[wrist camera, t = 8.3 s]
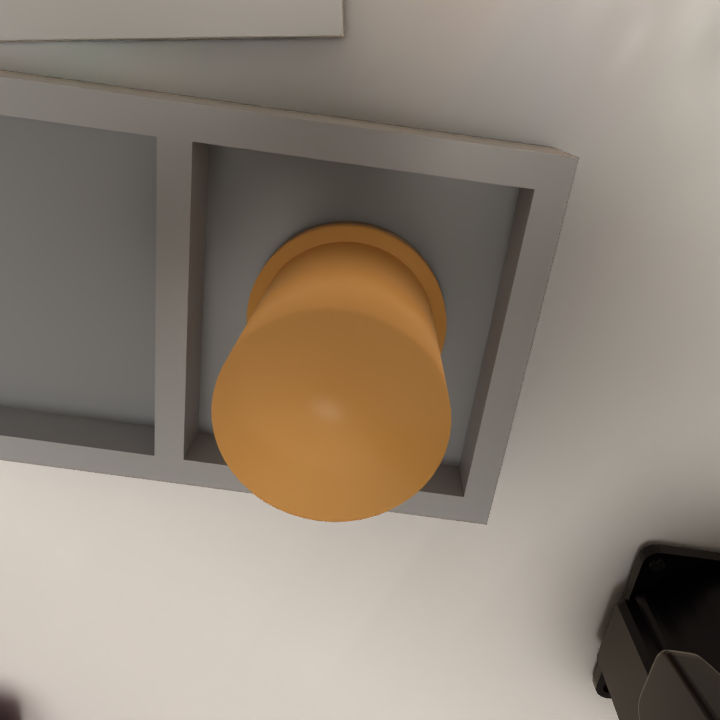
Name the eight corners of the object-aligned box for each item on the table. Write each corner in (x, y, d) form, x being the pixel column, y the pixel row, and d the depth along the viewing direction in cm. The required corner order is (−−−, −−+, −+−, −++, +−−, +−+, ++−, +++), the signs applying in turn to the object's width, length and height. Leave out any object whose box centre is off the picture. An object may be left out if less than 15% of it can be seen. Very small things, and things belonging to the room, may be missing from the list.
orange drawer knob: (460, 235, 17) (497, 311, 11) (426, 413, 19) (443, 551, 13) (258, 207, 17) (197, 270, 11) (246, 389, 19) (188, 518, 13)
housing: (553, 147, 17) (578, 158, 15) (476, 475, 21) (486, 524, 18) (-149, 48, 17) (-235, 43, 14) (-94, 399, 21) (-154, 439, 18)
